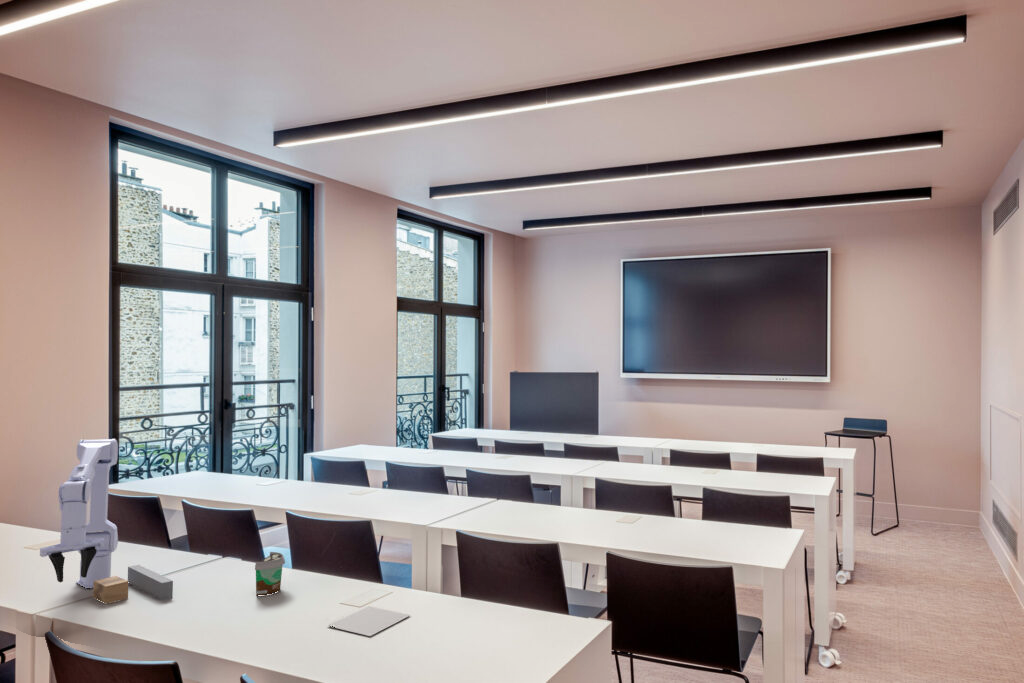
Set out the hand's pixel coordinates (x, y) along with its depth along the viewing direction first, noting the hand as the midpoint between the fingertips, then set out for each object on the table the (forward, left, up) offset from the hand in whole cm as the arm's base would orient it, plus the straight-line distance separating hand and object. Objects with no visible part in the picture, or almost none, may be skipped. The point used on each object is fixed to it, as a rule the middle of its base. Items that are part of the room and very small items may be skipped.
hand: (71, 578), depth 184 cm
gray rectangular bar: (-7, +23, -10) cm, 25 cm away
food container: (+21, +46, -10) cm, 51 cm away
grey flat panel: (+56, +53, -10) cm, 78 cm away
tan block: (-7, +12, -10) cm, 17 cm away
